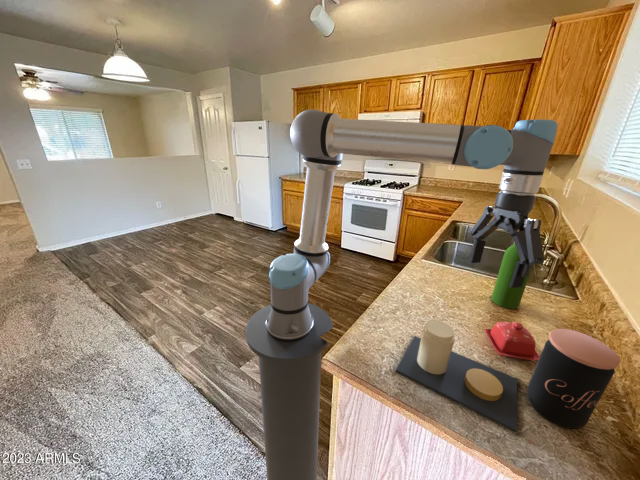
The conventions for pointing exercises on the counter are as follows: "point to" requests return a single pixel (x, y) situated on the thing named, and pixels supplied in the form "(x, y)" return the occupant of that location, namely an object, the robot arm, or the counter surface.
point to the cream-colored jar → (435, 347)
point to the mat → (464, 385)
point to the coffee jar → (571, 377)
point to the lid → (483, 384)
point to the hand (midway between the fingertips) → (493, 273)
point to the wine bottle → (508, 281)
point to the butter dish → (513, 340)
